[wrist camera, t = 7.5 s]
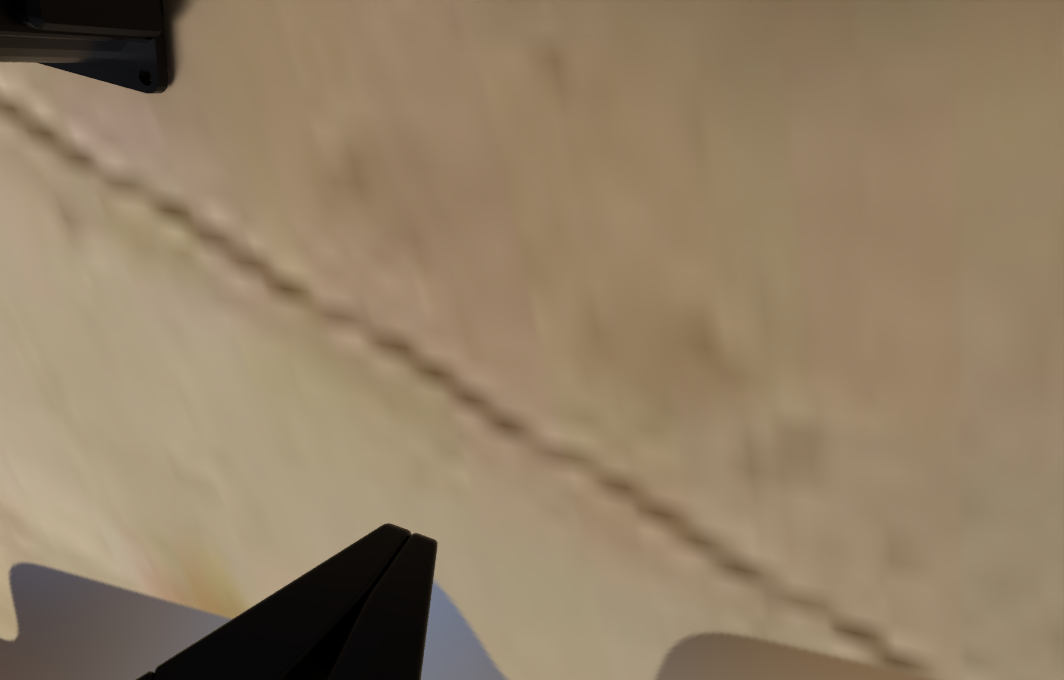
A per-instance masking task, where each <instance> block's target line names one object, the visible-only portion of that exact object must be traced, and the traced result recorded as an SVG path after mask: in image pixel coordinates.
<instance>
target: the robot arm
mask: <svg viewBox="0 0 1064 680" xmlns="http://www.w3.org/2000/svg"><path fill="white" fill-rule="evenodd" d="M0 62H35V63H40V64H43V65H47V66H51V67H54V68H58V69H61V70H65V71H69V72H72V73H76V74H79V75H83V76H87V77H90V78H94V79H97V80H101V81H104V82H108V83H112V84H115V85H119V86H122V87H126V88H130V89H133V90H137V91H140V92H144V93H162V92H164V91H165V90H166V88H167V86H168V73H167V59H166V46H165V32H164V18H163V4H162V0H0ZM149 73H150V74H151V77H152V82H151V81H150V79H149ZM436 553H437V541H436V540H434V539H432V538H429V537H426V536H423V535H421V534H418V533H414V534H412V535H411V532H410V531H409V530H407V529H404V528H401V527H399V526H396V525H393V524H389V523H388V524H384V525H382V526H380V527H379V528H377V529H376V530H374V531H372V532H371V533H369V534H368V535H366V536H364V537H363V538H361V539H360V540H358V541H357V542H355V543H353V544H352V545H350V546H349V547H347V548H345V549H344V550H342V551H341V552H339V553H337V554H336V555H334V556H333V557H331V558H329V559H328V560H326V561H325V562H323V563H321V564H320V565H318V566H317V567H315V568H313V569H312V570H310V571H309V572H307V573H306V574H304V575H302V576H301V577H299V578H298V579H296V580H294V581H293V582H291V583H290V584H288V585H286V586H285V587H283V588H282V589H280V590H278V591H277V592H275V593H274V594H272V595H270V596H269V597H267V598H266V599H264V600H262V601H261V602H259V603H258V604H256V605H255V606H253V607H251V608H250V609H248V610H247V611H245V612H243V613H242V614H240V615H239V616H237V617H235V618H234V619H232V620H231V621H229V622H227V623H226V624H224V625H223V626H221V627H219V628H218V629H216V630H215V631H213V632H212V633H210V634H208V635H207V636H205V637H204V638H202V639H200V640H199V641H197V642H196V643H194V644H192V645H191V646H189V647H188V648H186V649H184V650H183V651H181V652H180V653H178V654H176V655H175V656H173V657H172V658H170V659H168V660H167V661H165V662H164V663H162V664H161V665H159V666H157V667H156V669H155V673H153V671H149V672H147V673H146V674H144V675H142V676H141V677H139V678H138V679H136V680H421V672H422V664H423V656H424V647H425V641H426V633H427V625H428V617H429V609H430V601H431V593H432V584H433V577H434V569H435V561H436Z"/></svg>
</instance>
